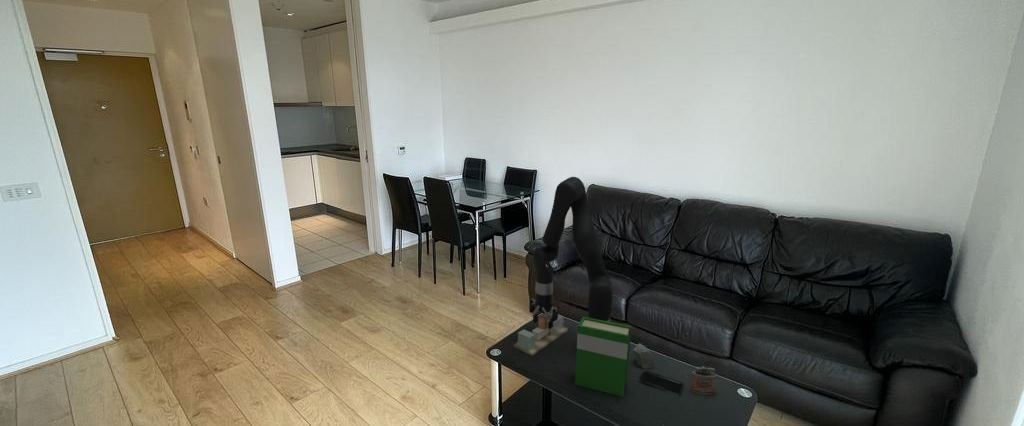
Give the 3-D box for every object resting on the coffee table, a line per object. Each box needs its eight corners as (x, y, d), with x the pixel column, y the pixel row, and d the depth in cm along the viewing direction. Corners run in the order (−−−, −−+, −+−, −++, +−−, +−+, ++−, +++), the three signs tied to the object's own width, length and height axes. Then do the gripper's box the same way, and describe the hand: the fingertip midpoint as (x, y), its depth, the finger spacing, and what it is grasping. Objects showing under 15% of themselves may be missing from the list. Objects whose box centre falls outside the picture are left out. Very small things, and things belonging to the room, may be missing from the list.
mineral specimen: (638, 354, 175) (644, 339, 172) (654, 369, 169) (660, 353, 165) (626, 359, 171) (631, 344, 168) (642, 374, 165) (648, 358, 161)
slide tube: (553, 322, 197) (554, 306, 195) (561, 325, 195) (561, 308, 193) (531, 337, 185) (531, 319, 183) (538, 340, 182) (539, 322, 180)
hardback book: (626, 384, 157) (631, 326, 151) (623, 396, 151) (628, 336, 145) (579, 372, 164) (582, 316, 158) (574, 384, 157) (578, 325, 151)
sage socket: (523, 342, 182) (523, 329, 181) (534, 347, 178) (534, 334, 177) (517, 346, 180) (518, 332, 178) (529, 351, 176) (529, 337, 174)
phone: (644, 369, 165) (684, 383, 157) (643, 372, 165) (684, 386, 157) (638, 380, 158) (680, 395, 151) (637, 383, 159) (679, 397, 151)
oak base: (550, 323, 201) (550, 321, 200) (568, 330, 194) (568, 328, 194) (513, 346, 181) (513, 344, 180) (532, 355, 174) (532, 353, 174)
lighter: (690, 393, 153) (694, 369, 150) (688, 387, 156) (691, 363, 154) (714, 396, 152) (718, 371, 149) (711, 390, 155) (715, 366, 152)
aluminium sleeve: (553, 323, 199) (554, 312, 197) (563, 327, 195) (563, 316, 194) (541, 331, 191) (541, 320, 190) (550, 335, 188) (551, 324, 187)
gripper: (525, 288, 184) (524, 323, 188) (552, 298, 175) (551, 334, 179) (536, 283, 190) (535, 316, 194) (562, 292, 181) (561, 327, 185)
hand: (542, 325), depth 186 cm, fingers open, 7 cm apart
